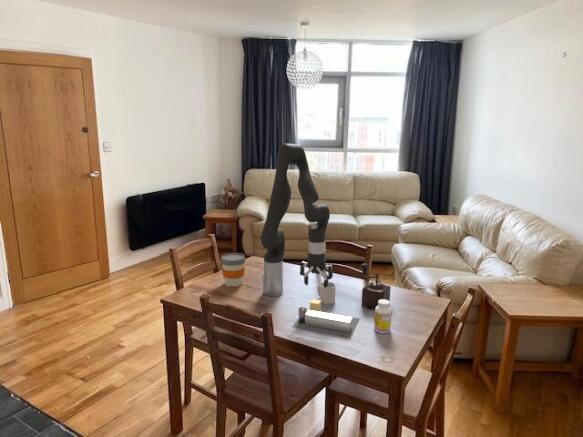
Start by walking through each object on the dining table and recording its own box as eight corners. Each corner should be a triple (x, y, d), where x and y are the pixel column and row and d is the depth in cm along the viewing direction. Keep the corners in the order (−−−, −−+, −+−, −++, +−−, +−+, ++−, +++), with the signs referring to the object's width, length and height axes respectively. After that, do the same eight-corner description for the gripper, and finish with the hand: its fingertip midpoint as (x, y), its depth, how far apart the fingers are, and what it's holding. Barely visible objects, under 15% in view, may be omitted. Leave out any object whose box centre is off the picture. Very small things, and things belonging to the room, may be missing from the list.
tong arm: (306, 321, 182) (307, 311, 181) (308, 319, 184) (308, 309, 183) (350, 329, 175) (350, 319, 174) (351, 327, 177) (352, 317, 176)
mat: (291, 328, 178) (291, 326, 178) (305, 310, 194) (305, 309, 194) (350, 339, 169) (350, 338, 169) (360, 319, 185) (360, 318, 185)
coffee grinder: (390, 304, 201) (393, 268, 197) (382, 312, 192) (384, 275, 188) (360, 296, 210) (362, 261, 205) (350, 304, 201) (352, 268, 196)
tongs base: (296, 323, 181) (297, 310, 179) (300, 319, 184) (300, 306, 183) (348, 333, 173) (349, 319, 171) (351, 328, 176) (351, 315, 175)
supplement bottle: (372, 326, 180) (373, 298, 177) (387, 325, 180) (389, 297, 177) (376, 334, 173) (378, 305, 170) (392, 333, 174) (394, 304, 171)
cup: (327, 307, 198) (328, 289, 196) (312, 300, 205) (312, 282, 203) (338, 302, 202) (338, 285, 200) (322, 296, 210) (323, 279, 207)
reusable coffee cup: (216, 285, 222) (215, 257, 218) (232, 277, 232) (231, 251, 229) (235, 290, 216) (234, 262, 212) (250, 282, 226) (250, 255, 222)
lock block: (309, 315, 188) (309, 302, 187) (312, 311, 192) (312, 298, 190) (318, 316, 187) (318, 304, 185) (320, 312, 190) (321, 300, 189)
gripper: (335, 250, 183) (334, 285, 187) (303, 246, 188) (303, 280, 192) (330, 255, 176) (329, 291, 180) (298, 251, 181) (297, 286, 185)
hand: (315, 285), depth 186 cm, fingers open, 8 cm apart
